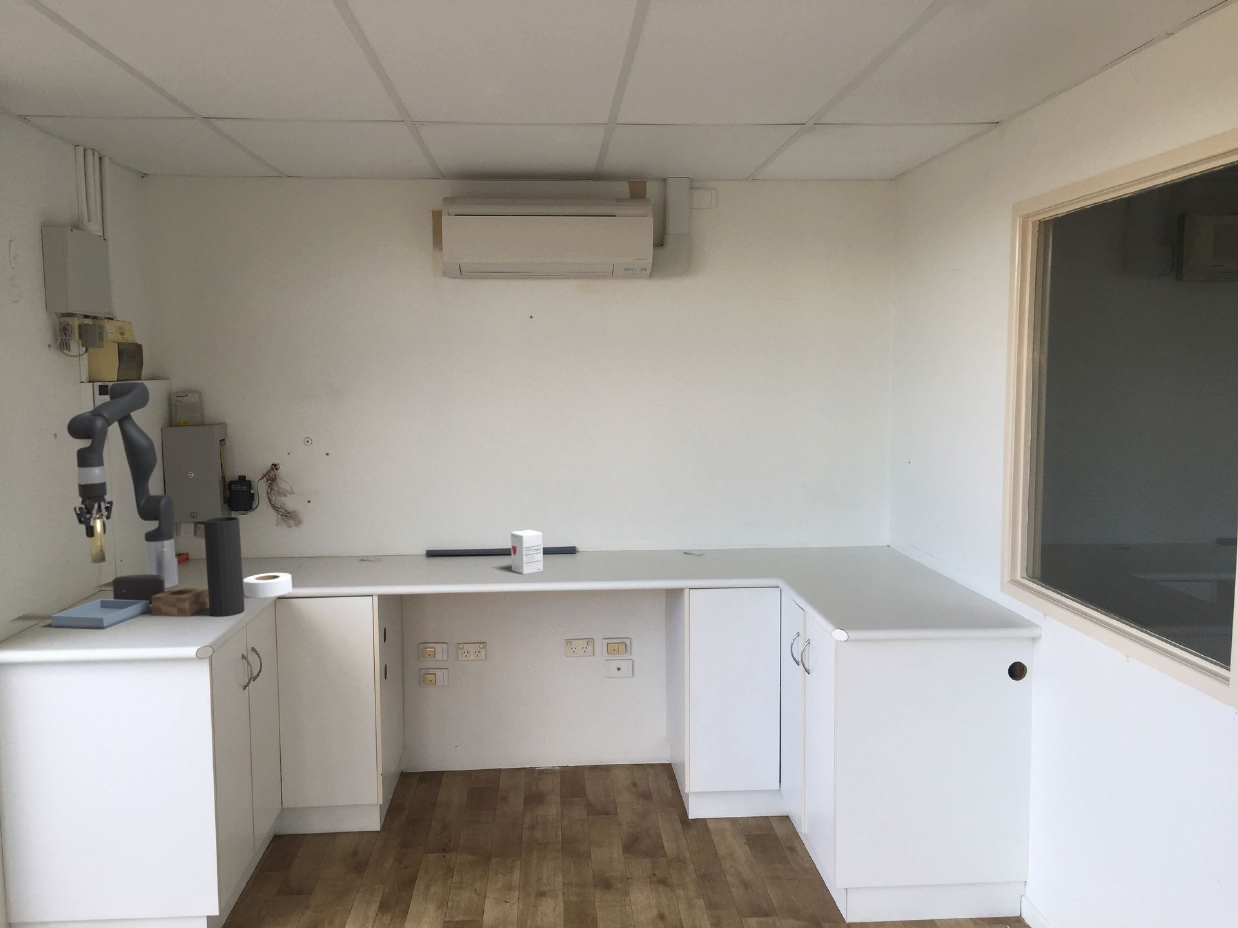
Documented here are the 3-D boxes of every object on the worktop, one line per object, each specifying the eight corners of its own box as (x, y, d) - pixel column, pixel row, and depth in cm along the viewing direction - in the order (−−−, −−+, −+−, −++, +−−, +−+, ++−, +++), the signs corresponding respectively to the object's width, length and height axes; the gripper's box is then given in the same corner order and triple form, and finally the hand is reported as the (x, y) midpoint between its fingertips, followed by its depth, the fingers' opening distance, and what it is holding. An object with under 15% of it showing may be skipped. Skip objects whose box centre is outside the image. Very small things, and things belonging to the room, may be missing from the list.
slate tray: (100, 609, 288) (100, 598, 287) (150, 611, 285) (149, 600, 284) (51, 626, 268) (50, 615, 268) (104, 628, 265) (103, 617, 265)
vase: (204, 612, 282) (198, 520, 278) (235, 606, 289) (229, 515, 286) (218, 618, 275) (212, 523, 272) (250, 611, 282) (244, 518, 279)
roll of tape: (234, 594, 305) (233, 579, 305) (274, 585, 318) (273, 570, 318) (261, 600, 297) (260, 584, 296) (301, 590, 310) (300, 575, 309)
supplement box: (511, 570, 336) (509, 531, 334) (531, 567, 341) (530, 529, 340) (523, 574, 328) (522, 535, 327) (543, 571, 334) (542, 532, 332)
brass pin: (97, 560, 277) (93, 513, 275) (108, 560, 276) (105, 513, 275) (87, 563, 273) (84, 515, 271) (99, 563, 272) (95, 515, 271)
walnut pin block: (177, 605, 292) (176, 587, 291) (210, 606, 290) (209, 588, 289) (152, 614, 280) (151, 596, 279) (186, 616, 278) (185, 597, 277)
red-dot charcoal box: (169, 600, 299) (168, 573, 298) (164, 603, 294) (162, 576, 293) (119, 602, 297) (117, 574, 296) (113, 605, 292) (111, 577, 291)
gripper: (98, 478, 280) (102, 531, 281) (63, 483, 266) (67, 540, 267) (119, 478, 278) (123, 532, 280) (85, 484, 264) (89, 540, 266)
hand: (96, 535), depth 274 cm, fingers closed on brass pin, 4 cm apart
